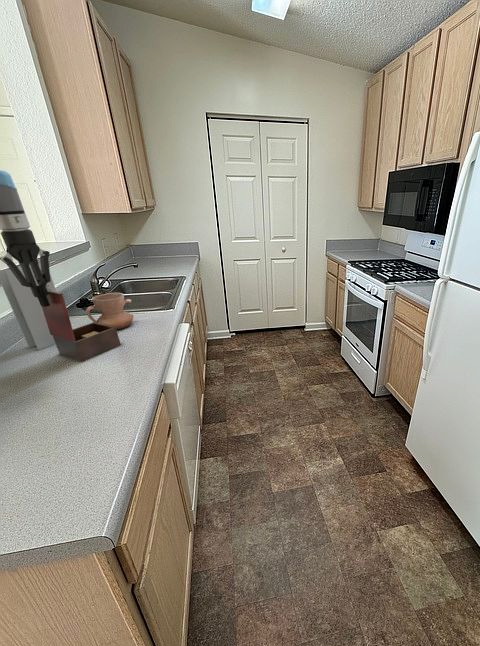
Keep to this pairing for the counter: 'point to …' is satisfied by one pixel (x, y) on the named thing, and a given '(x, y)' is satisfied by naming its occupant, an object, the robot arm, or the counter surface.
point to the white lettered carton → (27, 309)
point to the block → (89, 334)
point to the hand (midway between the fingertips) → (45, 305)
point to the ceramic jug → (111, 310)
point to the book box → (88, 341)
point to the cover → (58, 317)
